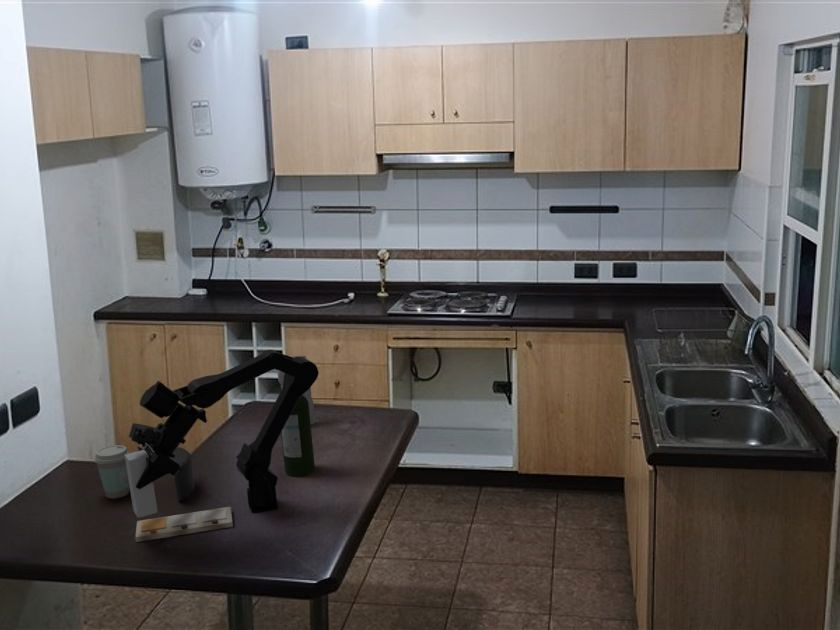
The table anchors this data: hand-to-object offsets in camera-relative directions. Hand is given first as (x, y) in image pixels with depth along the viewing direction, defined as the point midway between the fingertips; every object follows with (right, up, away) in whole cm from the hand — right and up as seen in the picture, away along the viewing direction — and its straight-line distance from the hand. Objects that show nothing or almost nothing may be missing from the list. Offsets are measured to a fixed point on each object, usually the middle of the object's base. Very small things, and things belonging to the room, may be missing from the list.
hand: (135, 484), depth 223 cm
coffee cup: (-13, -8, +30) cm, 33 cm away
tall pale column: (+29, +5, +71) cm, 77 cm away
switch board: (+10, -11, +8) cm, 17 cm away
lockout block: (+2, -7, +2) cm, 7 cm away
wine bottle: (+33, -3, +37) cm, 49 cm away
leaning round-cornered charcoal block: (+3, -7, +29) cm, 30 cm away
